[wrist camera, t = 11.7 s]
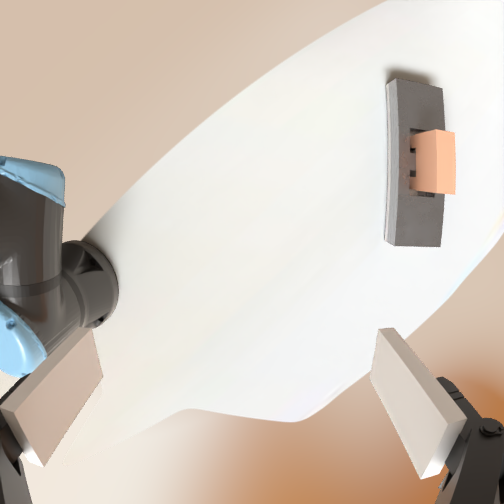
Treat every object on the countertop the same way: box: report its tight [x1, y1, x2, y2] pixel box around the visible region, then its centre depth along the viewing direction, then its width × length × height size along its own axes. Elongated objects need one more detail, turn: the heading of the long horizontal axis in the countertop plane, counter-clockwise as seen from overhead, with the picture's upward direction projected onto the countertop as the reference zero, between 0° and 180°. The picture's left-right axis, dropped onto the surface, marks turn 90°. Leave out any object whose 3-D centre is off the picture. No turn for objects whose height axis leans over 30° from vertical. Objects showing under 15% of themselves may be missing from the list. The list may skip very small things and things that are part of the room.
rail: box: [384, 78, 445, 247], centre depth 41 cm, size 8×24×4 cm, turn 0°
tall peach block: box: [409, 129, 456, 194], centre depth 38 cm, size 3×8×9 cm, turn 1°
